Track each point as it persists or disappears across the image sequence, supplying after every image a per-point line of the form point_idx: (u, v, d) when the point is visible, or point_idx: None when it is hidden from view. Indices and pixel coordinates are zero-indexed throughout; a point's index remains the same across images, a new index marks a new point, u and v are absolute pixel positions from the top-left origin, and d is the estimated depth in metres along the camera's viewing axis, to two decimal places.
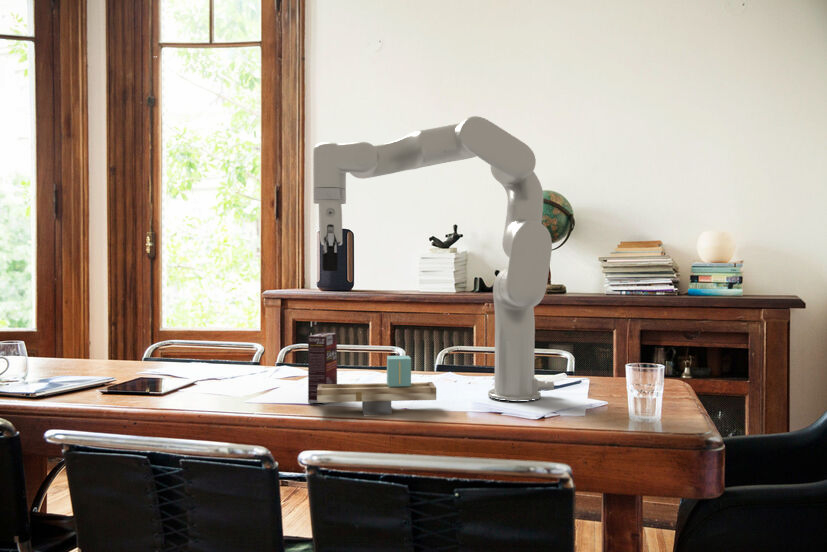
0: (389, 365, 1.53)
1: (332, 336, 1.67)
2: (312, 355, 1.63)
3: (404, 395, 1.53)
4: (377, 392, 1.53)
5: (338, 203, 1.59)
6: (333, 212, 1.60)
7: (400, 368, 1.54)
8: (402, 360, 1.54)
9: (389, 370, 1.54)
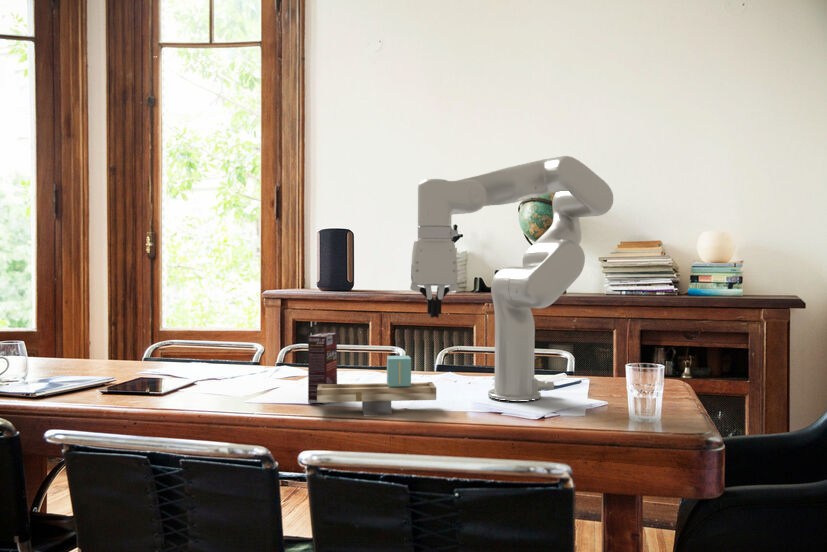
0: (389, 365, 1.53)
1: (332, 336, 1.67)
2: (312, 355, 1.63)
3: (404, 395, 1.53)
4: (377, 392, 1.53)
5: None
6: None
7: (400, 368, 1.54)
8: (402, 360, 1.54)
9: (389, 370, 1.54)
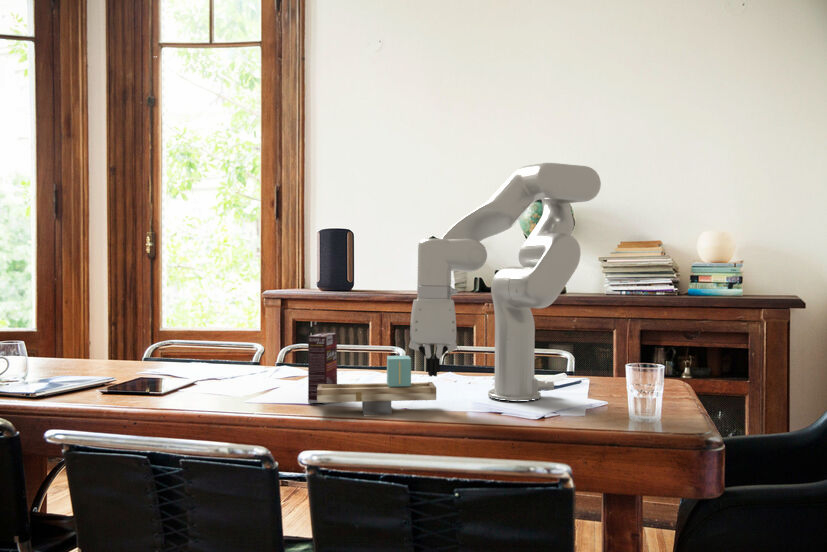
0: (389, 365, 1.53)
1: (332, 336, 1.67)
2: (312, 355, 1.63)
3: (404, 395, 1.53)
4: (377, 392, 1.53)
5: None
6: None
7: (400, 368, 1.54)
8: (402, 360, 1.54)
9: (389, 370, 1.54)
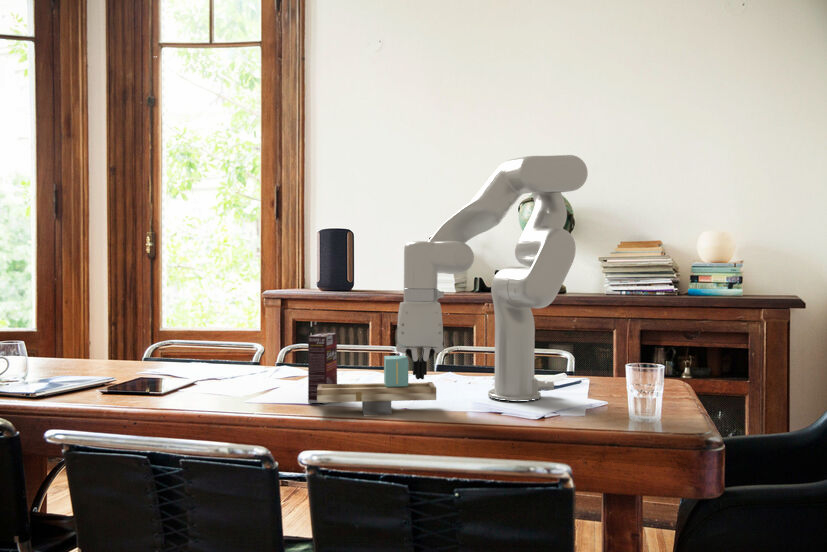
0: (386, 365, 1.53)
1: (332, 336, 1.67)
2: (312, 355, 1.63)
3: (404, 395, 1.53)
4: (377, 392, 1.53)
5: None
6: None
7: (397, 368, 1.54)
8: (399, 360, 1.54)
9: (386, 370, 1.53)
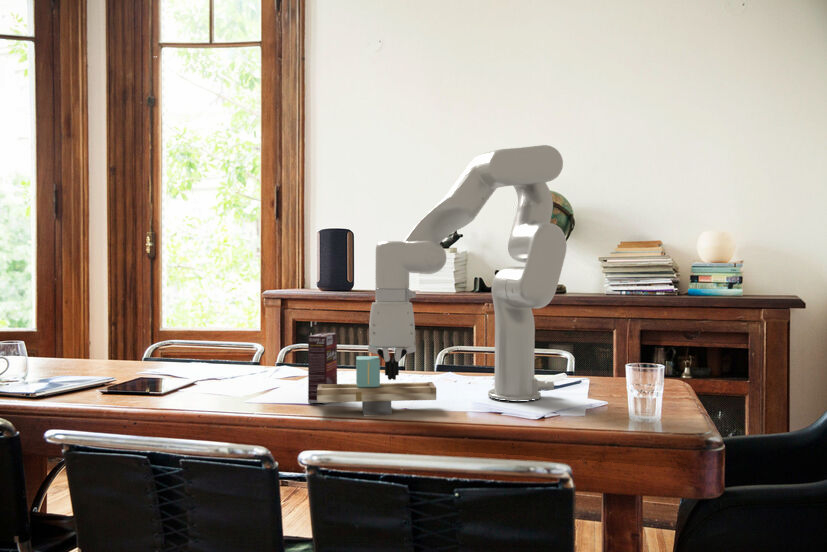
0: (358, 365, 1.53)
1: (332, 336, 1.67)
2: (312, 355, 1.63)
3: (404, 395, 1.53)
4: (377, 392, 1.53)
5: None
6: None
7: (369, 369, 1.53)
8: (371, 360, 1.53)
9: (358, 371, 1.53)
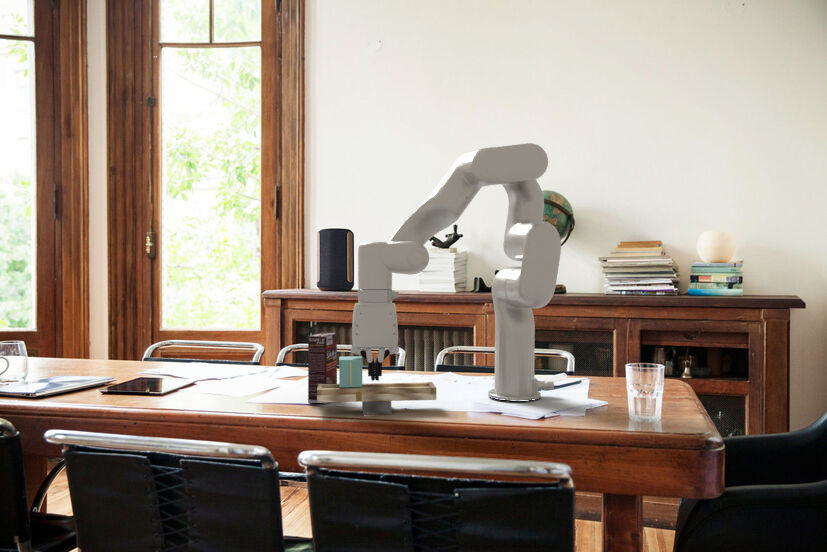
0: (340, 366, 1.52)
1: (332, 336, 1.67)
2: (312, 355, 1.63)
3: (404, 395, 1.53)
4: (377, 392, 1.53)
5: None
6: None
7: (351, 369, 1.53)
8: (353, 361, 1.53)
9: (340, 371, 1.52)
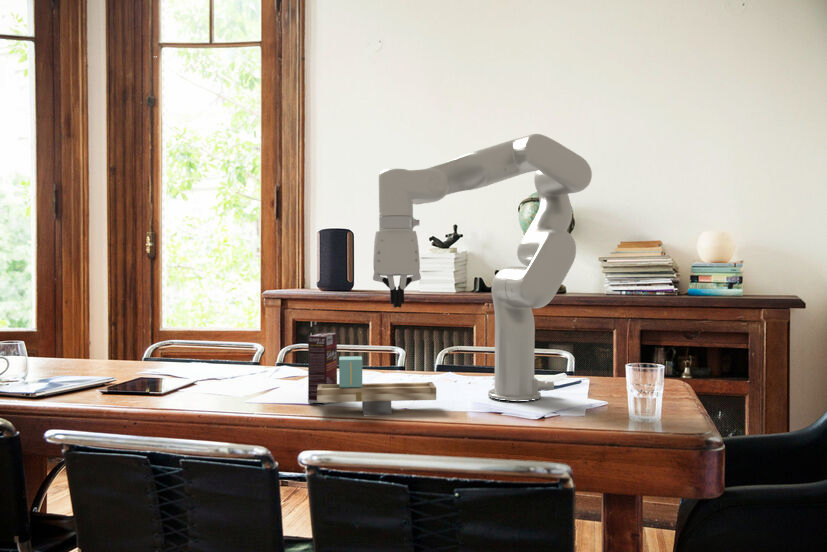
0: (340, 366, 1.52)
1: (332, 336, 1.67)
2: (312, 355, 1.63)
3: (404, 395, 1.53)
4: (377, 392, 1.53)
5: None
6: None
7: (351, 369, 1.53)
8: (353, 361, 1.53)
9: (340, 371, 1.52)
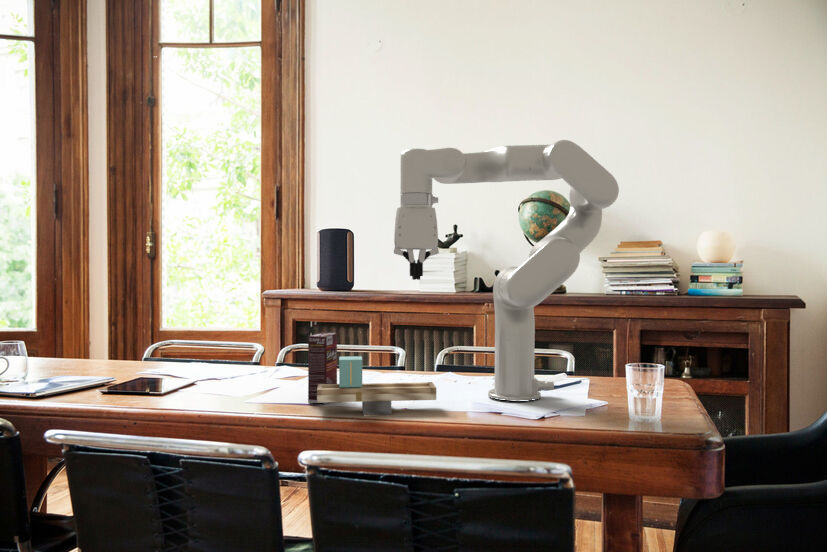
0: (340, 366, 1.52)
1: (332, 336, 1.67)
2: (312, 355, 1.63)
3: (404, 395, 1.53)
4: (377, 392, 1.53)
5: None
6: None
7: (351, 369, 1.53)
8: (353, 361, 1.53)
9: (340, 371, 1.52)
